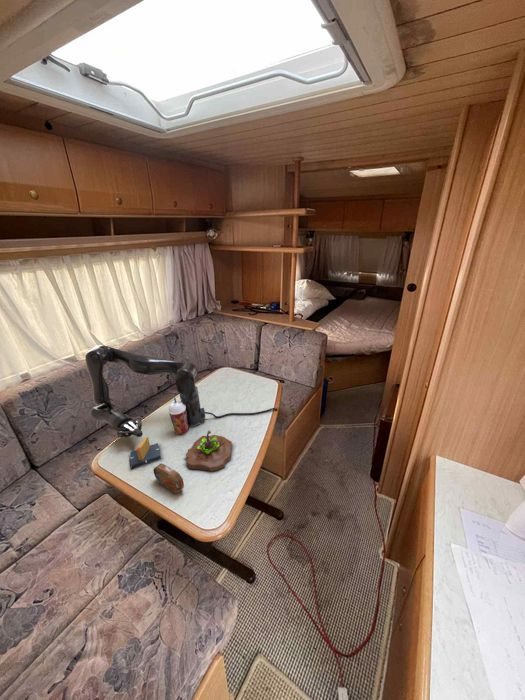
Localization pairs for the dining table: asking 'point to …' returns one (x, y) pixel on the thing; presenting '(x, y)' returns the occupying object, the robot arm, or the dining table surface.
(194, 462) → the plant
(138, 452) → the tap lever
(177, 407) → the smoothie
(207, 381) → the dining table surface
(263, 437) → the dining table surface
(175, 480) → the tin
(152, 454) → the tap plate
